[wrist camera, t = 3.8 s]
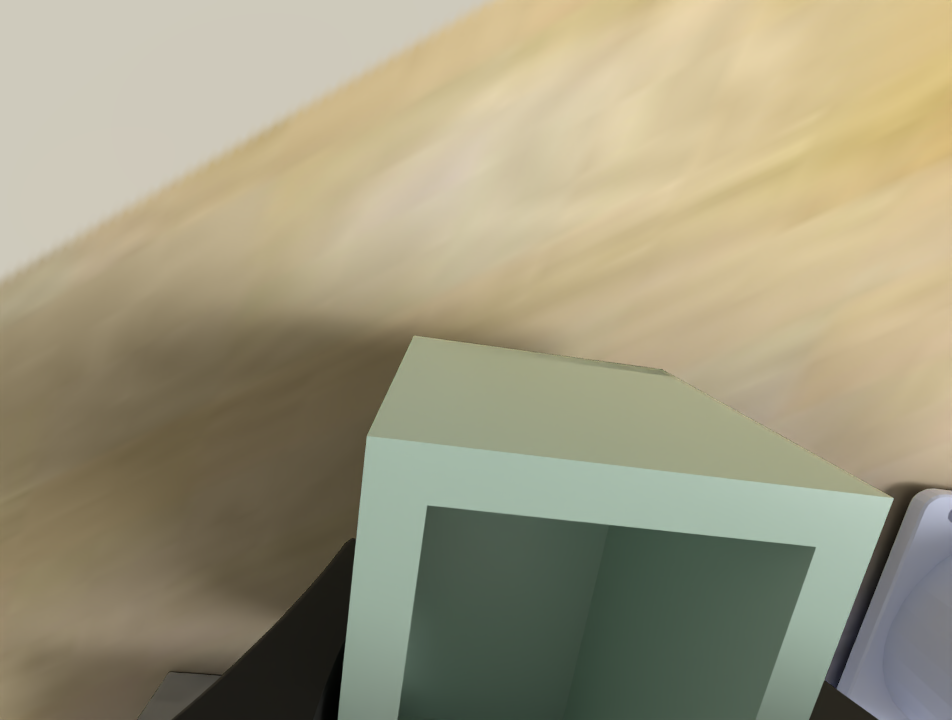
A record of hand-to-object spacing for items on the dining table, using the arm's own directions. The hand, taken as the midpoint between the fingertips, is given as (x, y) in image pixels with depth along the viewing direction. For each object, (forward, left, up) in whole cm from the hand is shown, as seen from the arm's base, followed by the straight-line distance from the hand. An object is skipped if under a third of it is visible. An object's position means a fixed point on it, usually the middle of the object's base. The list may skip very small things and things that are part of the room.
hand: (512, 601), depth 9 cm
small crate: (0, 0, -2) cm, 2 cm away
